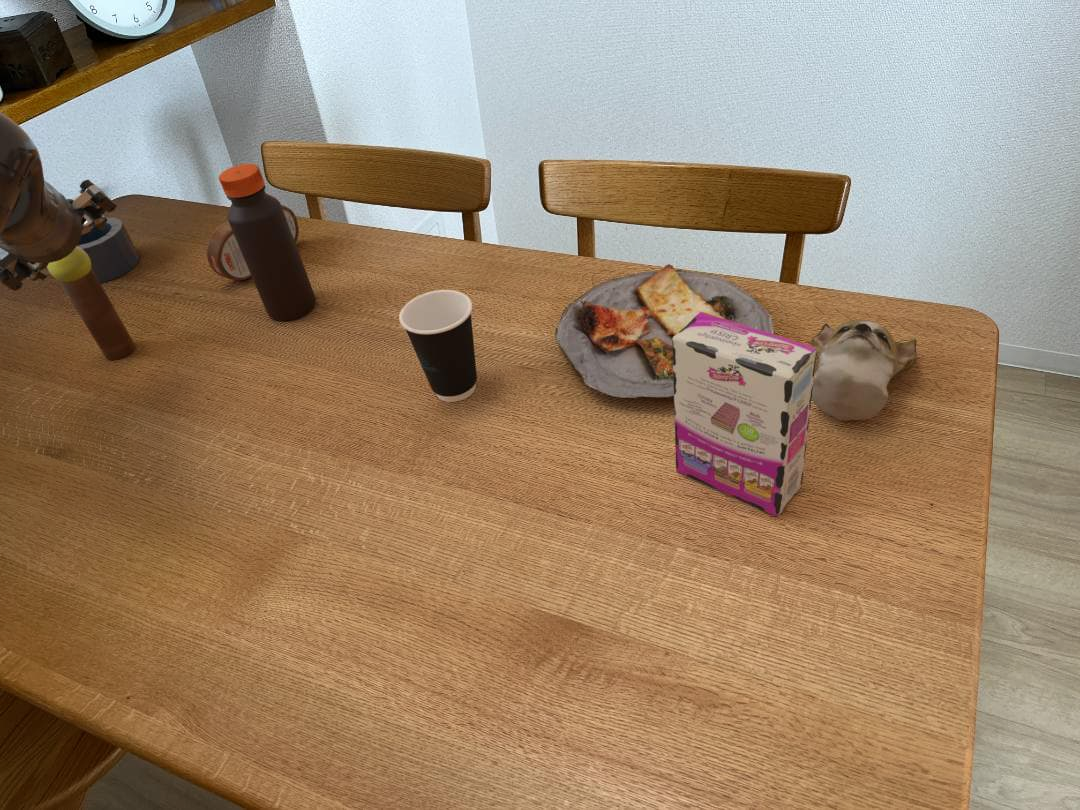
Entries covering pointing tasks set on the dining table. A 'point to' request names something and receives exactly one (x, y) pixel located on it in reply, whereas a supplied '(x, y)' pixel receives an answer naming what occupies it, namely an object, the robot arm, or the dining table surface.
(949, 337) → the dining table surface
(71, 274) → the ball peg
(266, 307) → the bottle
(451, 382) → the dixie cup
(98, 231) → the tube
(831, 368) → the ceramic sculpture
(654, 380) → the food plate
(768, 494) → the candy bar box
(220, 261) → the tin
